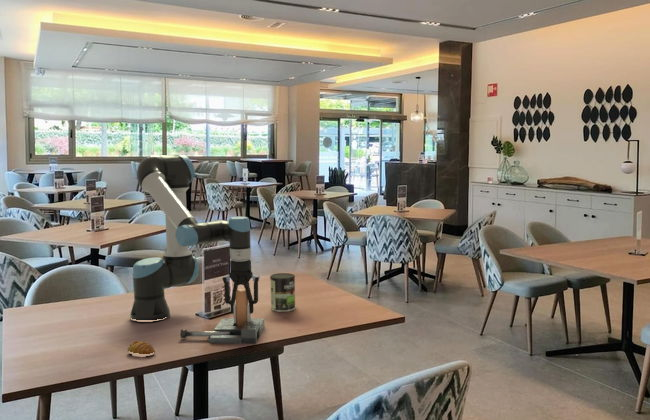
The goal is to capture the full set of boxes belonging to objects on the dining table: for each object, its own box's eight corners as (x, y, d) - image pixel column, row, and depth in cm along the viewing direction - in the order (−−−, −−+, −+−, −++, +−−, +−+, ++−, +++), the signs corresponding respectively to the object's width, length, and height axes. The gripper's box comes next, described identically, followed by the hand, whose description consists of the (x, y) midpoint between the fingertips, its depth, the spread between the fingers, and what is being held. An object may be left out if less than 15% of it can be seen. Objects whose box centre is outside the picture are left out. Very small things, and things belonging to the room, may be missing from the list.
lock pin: (180, 339, 200) (180, 331, 200) (183, 336, 203) (182, 328, 203) (228, 339, 199) (228, 331, 199) (230, 336, 202) (230, 328, 202)
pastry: (160, 354, 188) (159, 342, 188) (144, 360, 182) (143, 349, 182) (141, 348, 193) (140, 338, 193) (124, 355, 187) (124, 344, 187)
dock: (206, 343, 197) (205, 329, 196) (218, 326, 215) (218, 313, 214) (255, 343, 196) (255, 329, 195) (264, 326, 214) (264, 313, 213)
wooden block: (237, 325, 210) (236, 289, 209) (249, 325, 210) (248, 289, 209) (235, 329, 206) (234, 292, 204) (247, 329, 206) (246, 292, 204)
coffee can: (300, 307, 238) (299, 274, 237) (284, 313, 230) (283, 279, 229) (282, 303, 245) (281, 271, 243) (265, 309, 236) (264, 276, 235)
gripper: (214, 261, 202) (216, 325, 205) (262, 261, 201) (264, 325, 204) (219, 257, 209) (221, 318, 212) (265, 257, 208) (267, 318, 211)
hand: (242, 321), depth 208 cm, fingers closed on wooden block, 4 cm apart
